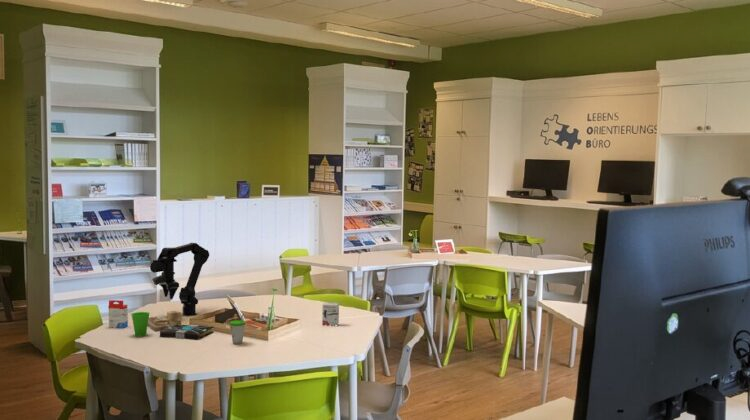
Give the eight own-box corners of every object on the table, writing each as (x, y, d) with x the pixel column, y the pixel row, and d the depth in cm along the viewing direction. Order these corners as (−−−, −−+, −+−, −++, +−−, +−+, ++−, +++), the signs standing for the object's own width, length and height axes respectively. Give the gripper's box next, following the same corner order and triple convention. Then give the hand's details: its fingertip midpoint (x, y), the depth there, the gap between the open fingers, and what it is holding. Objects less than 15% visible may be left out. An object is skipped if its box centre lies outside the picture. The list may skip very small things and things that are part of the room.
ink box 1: (128, 326, 353) (127, 299, 352) (123, 328, 348) (123, 300, 347) (112, 325, 354) (112, 298, 353) (108, 327, 349) (108, 300, 348)
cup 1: (154, 334, 336) (153, 312, 336) (140, 338, 328) (140, 316, 327) (140, 332, 340) (140, 311, 339) (127, 336, 332) (127, 314, 331)
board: (156, 320, 367) (156, 316, 367) (170, 329, 347) (170, 325, 347) (141, 322, 363) (141, 318, 363) (155, 331, 342) (155, 327, 342)
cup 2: (227, 341, 323) (227, 311, 322) (243, 340, 326) (243, 310, 326) (231, 345, 316) (231, 314, 315) (247, 344, 319) (247, 313, 318)
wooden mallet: (178, 325, 357) (178, 310, 356) (181, 327, 353) (181, 312, 352) (152, 328, 349) (152, 313, 348) (155, 330, 345) (155, 315, 344)
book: (159, 338, 331) (159, 328, 331) (176, 330, 347) (176, 320, 347) (199, 340, 326) (198, 330, 326) (214, 332, 343) (214, 323, 342)
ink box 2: (322, 325, 360) (322, 304, 359) (323, 323, 365) (323, 302, 364) (337, 326, 359) (337, 304, 358) (338, 324, 364) (339, 302, 363)
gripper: (148, 269, 371) (149, 296, 372) (159, 273, 356) (159, 302, 357) (168, 267, 378) (168, 294, 379) (179, 272, 363) (179, 300, 364)
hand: (168, 298), depth 369 cm, fingers open, 9 cm apart
